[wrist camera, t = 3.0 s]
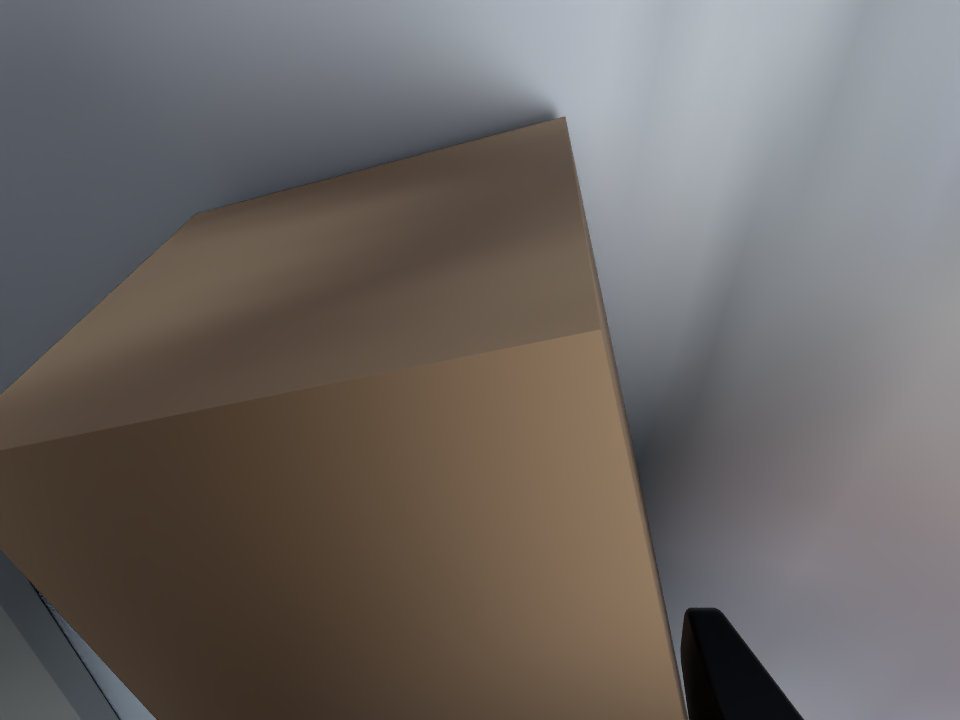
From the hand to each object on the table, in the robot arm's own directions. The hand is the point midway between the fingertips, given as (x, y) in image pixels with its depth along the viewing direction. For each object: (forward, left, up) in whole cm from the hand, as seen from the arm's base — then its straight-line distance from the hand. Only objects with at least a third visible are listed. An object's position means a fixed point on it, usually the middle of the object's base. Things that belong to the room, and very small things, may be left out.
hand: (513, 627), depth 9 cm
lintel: (0, 0, -1) cm, 1 cm away
